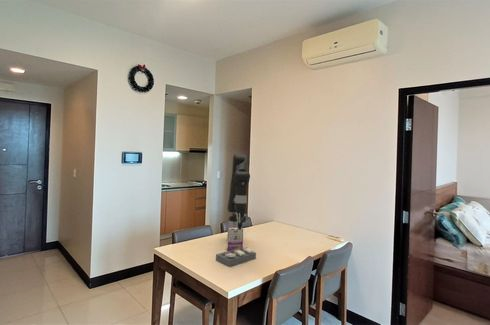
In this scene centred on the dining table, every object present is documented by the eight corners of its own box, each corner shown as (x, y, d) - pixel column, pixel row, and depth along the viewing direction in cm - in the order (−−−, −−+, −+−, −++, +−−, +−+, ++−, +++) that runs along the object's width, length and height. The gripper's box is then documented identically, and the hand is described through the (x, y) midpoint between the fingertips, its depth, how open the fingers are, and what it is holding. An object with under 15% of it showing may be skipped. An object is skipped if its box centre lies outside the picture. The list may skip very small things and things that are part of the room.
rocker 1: (225, 256, 179) (225, 254, 179) (229, 255, 182) (229, 252, 182) (231, 257, 175) (231, 255, 175) (235, 256, 178) (235, 253, 178)
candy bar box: (241, 248, 209) (242, 227, 209) (242, 250, 204) (243, 228, 204) (226, 248, 207) (227, 227, 207) (227, 251, 202) (228, 229, 202)
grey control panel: (215, 260, 183) (216, 254, 183) (241, 252, 200) (242, 247, 200) (229, 266, 173) (229, 260, 173) (255, 258, 190) (256, 252, 190)
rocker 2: (234, 252, 185) (234, 250, 185) (238, 251, 188) (239, 249, 187) (240, 256, 181) (240, 254, 180) (244, 255, 183) (244, 253, 183)
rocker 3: (242, 250, 190) (243, 248, 190) (246, 249, 193) (247, 247, 193) (248, 253, 186) (249, 251, 186) (252, 252, 189) (253, 250, 189)
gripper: (252, 203, 177) (251, 229, 177) (237, 200, 186) (236, 225, 186) (244, 203, 172) (242, 231, 171) (229, 201, 181) (228, 227, 181)
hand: (239, 228), depth 179 cm, fingers closed
